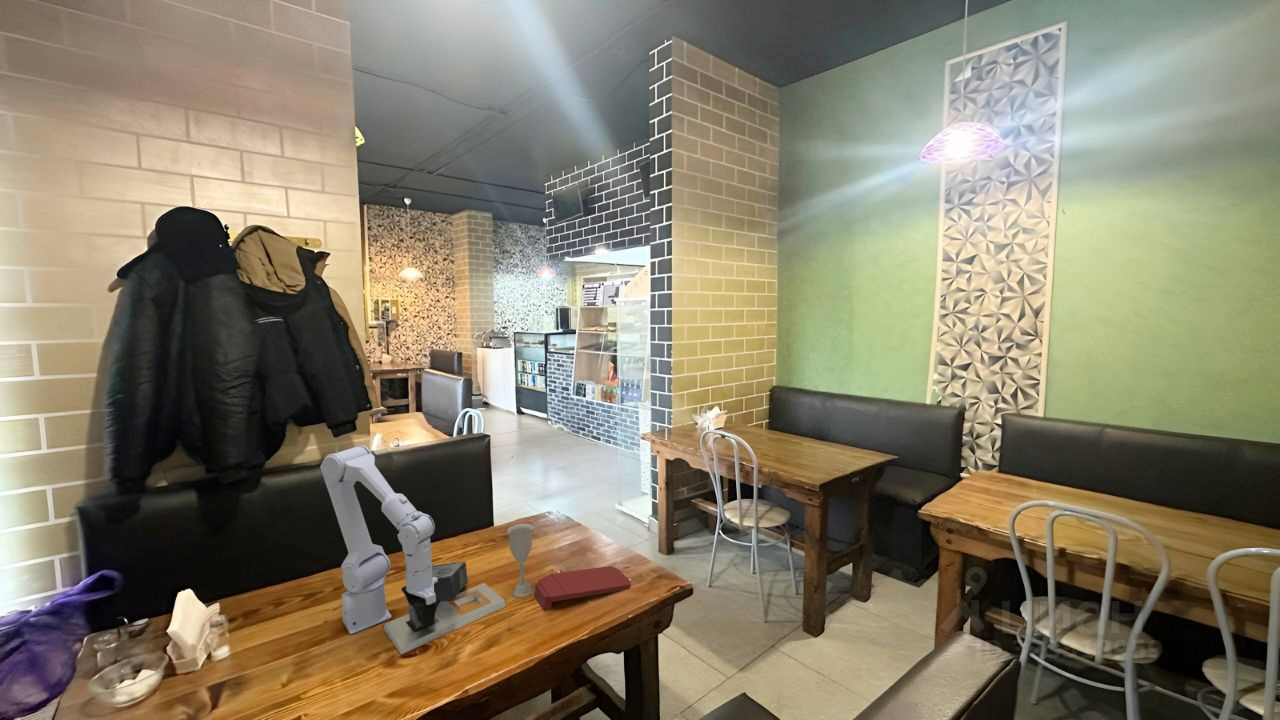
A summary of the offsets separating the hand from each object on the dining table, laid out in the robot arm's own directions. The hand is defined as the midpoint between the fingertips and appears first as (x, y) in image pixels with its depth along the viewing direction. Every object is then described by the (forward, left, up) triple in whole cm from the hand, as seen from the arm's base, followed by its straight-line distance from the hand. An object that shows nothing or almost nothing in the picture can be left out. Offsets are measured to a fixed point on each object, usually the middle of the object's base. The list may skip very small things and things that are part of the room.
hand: (422, 619), depth 120 cm
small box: (+13, +15, +1) cm, 20 cm away
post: (0, 0, -2) cm, 2 cm away
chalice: (+26, -3, -3) cm, 26 cm away
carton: (+38, -14, -3) cm, 41 cm away
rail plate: (+6, 0, -2) cm, 6 cm away
